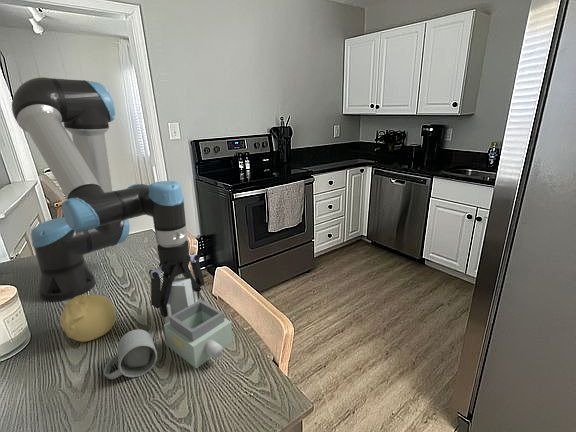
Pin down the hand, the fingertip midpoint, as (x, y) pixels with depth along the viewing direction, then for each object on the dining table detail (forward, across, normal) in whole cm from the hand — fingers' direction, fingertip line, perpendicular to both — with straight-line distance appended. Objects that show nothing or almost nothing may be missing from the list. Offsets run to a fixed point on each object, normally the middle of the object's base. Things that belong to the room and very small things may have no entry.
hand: (182, 317), depth 86 cm
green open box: (+1, -3, -14) cm, 14 cm away
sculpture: (+1, -18, +14) cm, 23 cm away
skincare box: (+1, 0, 0) cm, 1 cm away
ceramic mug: (+1, -17, -6) cm, 18 cm away
